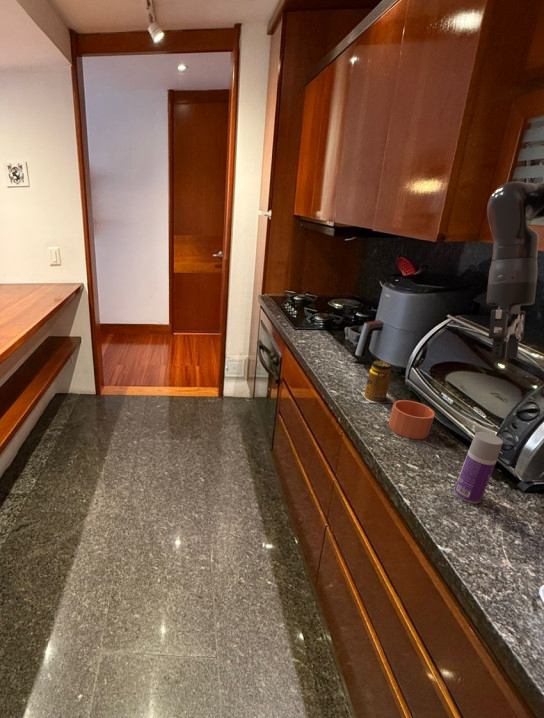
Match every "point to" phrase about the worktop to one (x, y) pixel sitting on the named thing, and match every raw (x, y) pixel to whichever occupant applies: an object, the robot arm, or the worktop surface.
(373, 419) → the worktop surface
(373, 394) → the condiment
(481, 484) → the container
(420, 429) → the holder
